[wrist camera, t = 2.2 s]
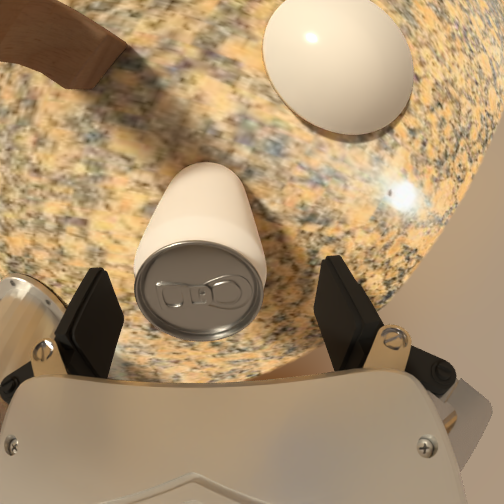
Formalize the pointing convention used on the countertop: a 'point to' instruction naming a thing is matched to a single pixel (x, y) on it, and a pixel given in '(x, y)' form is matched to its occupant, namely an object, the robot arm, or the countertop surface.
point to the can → (201, 257)
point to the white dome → (338, 63)
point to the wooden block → (56, 42)
